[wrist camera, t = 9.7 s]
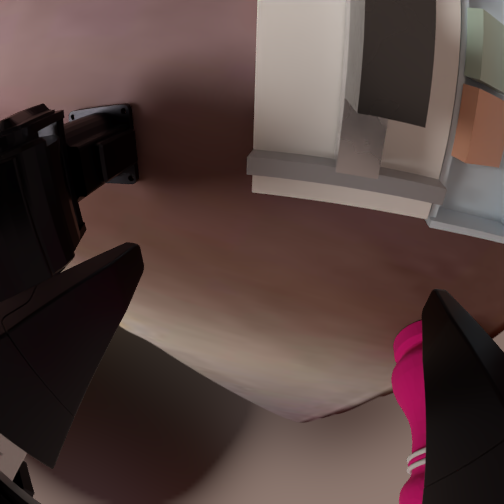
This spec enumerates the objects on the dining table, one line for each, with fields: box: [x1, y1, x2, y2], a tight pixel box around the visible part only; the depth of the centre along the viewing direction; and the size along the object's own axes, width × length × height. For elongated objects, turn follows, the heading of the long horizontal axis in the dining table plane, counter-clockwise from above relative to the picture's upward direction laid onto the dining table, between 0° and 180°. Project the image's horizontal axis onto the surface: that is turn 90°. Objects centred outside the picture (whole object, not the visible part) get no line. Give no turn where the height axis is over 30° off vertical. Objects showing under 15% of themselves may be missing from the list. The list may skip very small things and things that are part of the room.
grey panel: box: [334, 0, 436, 179], centre depth 9 cm, size 2×12×8 cm, turn 178°
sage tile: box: [464, 8, 504, 95], centre depth 10 cm, size 4×4×1 cm
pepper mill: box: [392, 320, 426, 504], centre depth 18 cm, size 7×7×20 cm
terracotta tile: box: [451, 84, 504, 168], centre depth 13 cm, size 4×4×1 cm
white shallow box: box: [247, 0, 461, 219], centre depth 13 cm, size 11×18×4 cm, turn 178°
